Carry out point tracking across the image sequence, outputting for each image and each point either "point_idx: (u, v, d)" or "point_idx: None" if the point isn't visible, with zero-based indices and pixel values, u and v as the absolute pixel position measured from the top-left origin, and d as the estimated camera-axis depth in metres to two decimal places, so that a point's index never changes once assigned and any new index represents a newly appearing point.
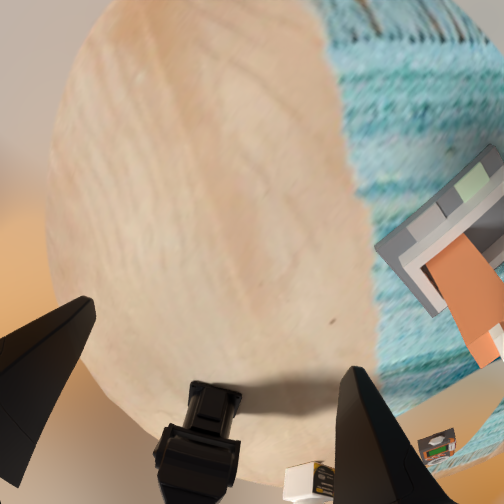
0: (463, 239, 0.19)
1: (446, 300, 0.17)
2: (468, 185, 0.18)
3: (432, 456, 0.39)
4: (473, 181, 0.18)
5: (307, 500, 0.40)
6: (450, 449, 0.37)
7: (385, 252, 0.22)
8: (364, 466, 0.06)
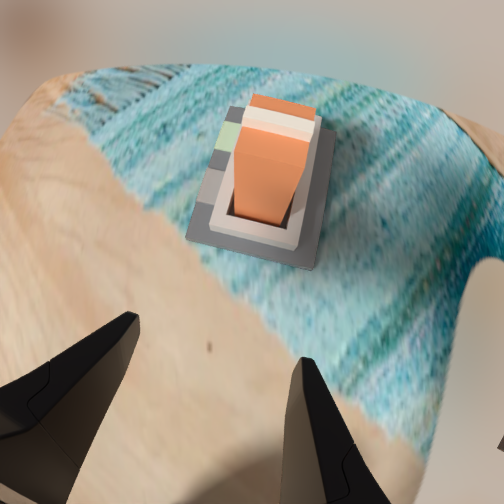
0: None
1: None
2: (226, 139, 0.25)
3: None
4: (228, 134, 0.25)
5: None
6: None
7: (194, 233, 0.24)
8: (303, 463, 0.06)
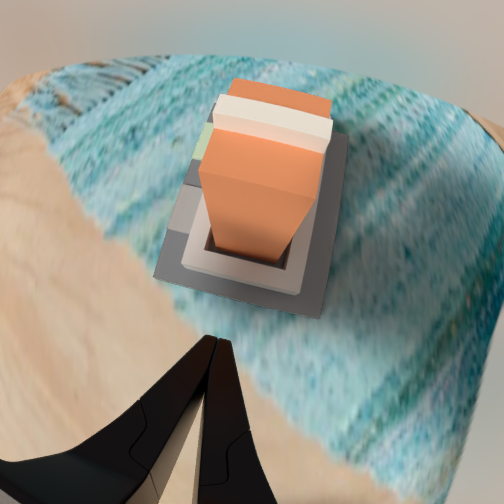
0: None
1: None
2: None
3: None
4: None
5: None
6: None
7: (165, 271, 0.18)
8: (199, 444, 0.06)
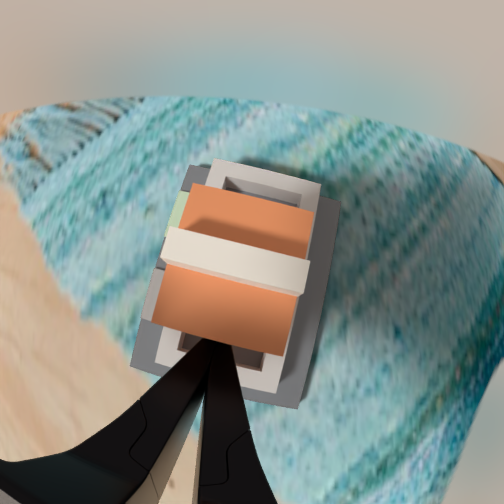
0: None
1: None
2: None
3: None
4: None
5: None
6: None
7: (141, 362, 0.16)
8: (199, 444, 0.06)
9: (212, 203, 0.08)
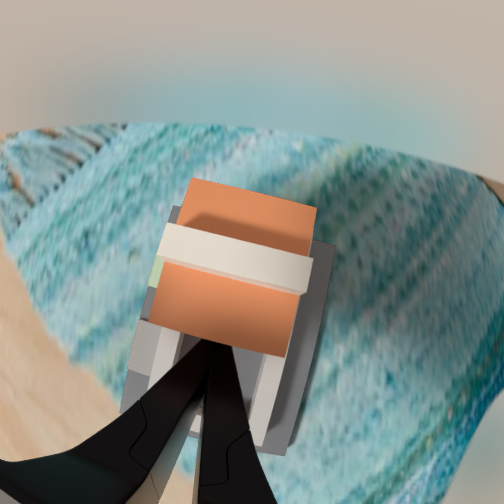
0: None
1: None
2: None
3: None
4: None
5: None
6: None
7: None
8: (199, 444, 0.06)
9: (211, 199, 0.08)
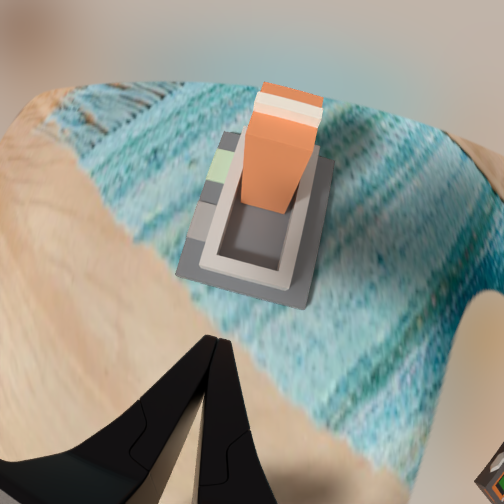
0: None
1: (243, 169, 0.19)
2: (218, 169, 0.25)
3: None
4: (221, 164, 0.25)
5: None
6: None
7: (185, 270, 0.23)
8: (199, 444, 0.06)
9: (274, 90, 0.16)
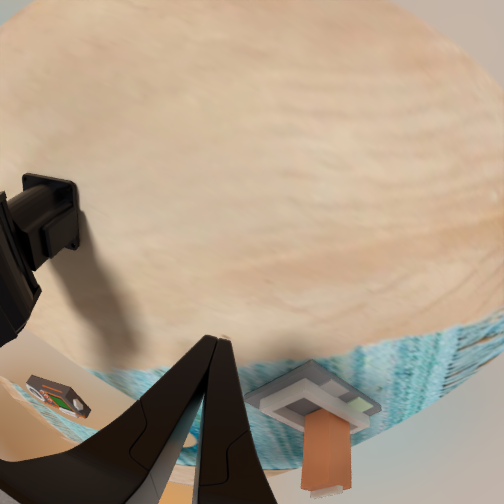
0: (348, 425, 0.30)
1: (329, 447, 0.26)
2: (358, 404, 0.30)
3: (48, 395, 0.41)
4: (361, 405, 0.30)
5: None
6: (63, 410, 0.42)
7: (310, 370, 0.28)
8: (199, 444, 0.06)
9: (343, 489, 0.24)
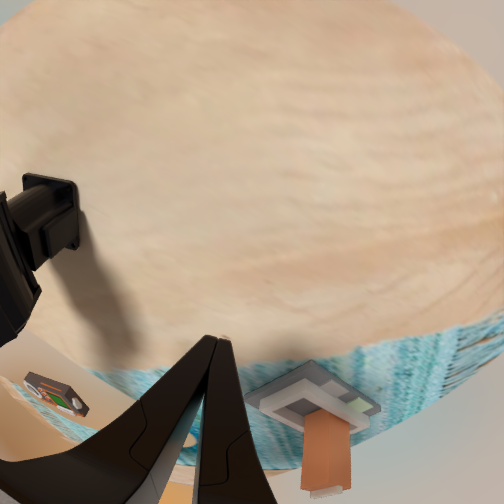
0: (347, 425, 0.30)
1: (329, 447, 0.26)
2: (358, 404, 0.30)
3: (46, 393, 0.41)
4: (360, 406, 0.30)
5: None
6: (60, 408, 0.42)
7: (310, 371, 0.28)
8: (199, 444, 0.06)
9: (342, 489, 0.24)
